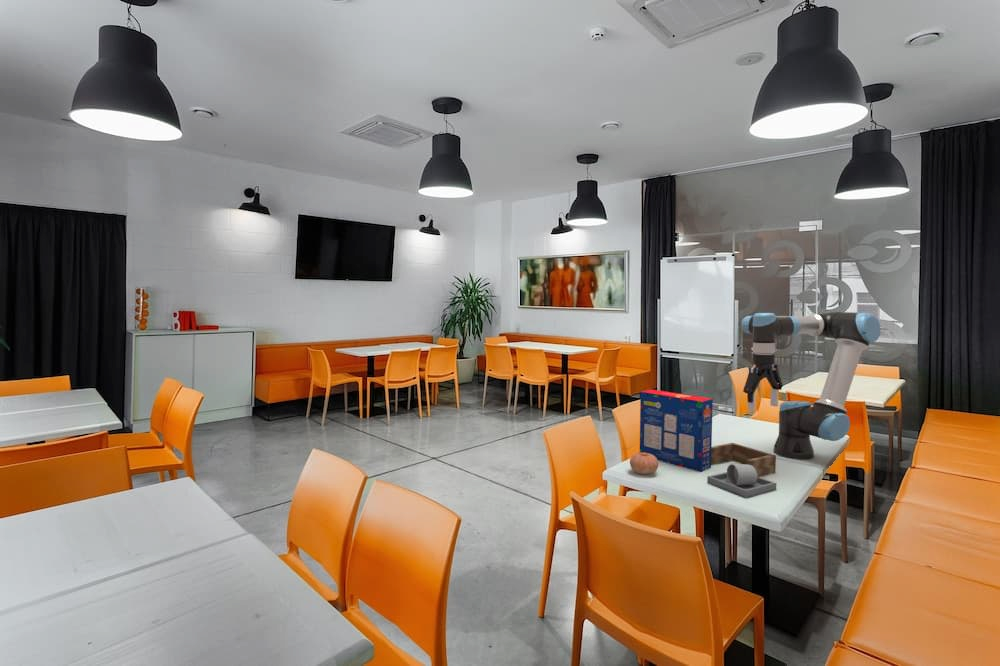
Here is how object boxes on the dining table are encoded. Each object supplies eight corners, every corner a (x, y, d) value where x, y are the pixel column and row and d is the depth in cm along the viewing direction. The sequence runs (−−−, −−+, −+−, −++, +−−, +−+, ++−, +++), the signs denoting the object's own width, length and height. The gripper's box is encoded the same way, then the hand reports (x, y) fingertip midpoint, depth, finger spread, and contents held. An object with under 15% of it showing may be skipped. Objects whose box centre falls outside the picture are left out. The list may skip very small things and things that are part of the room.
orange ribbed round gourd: (624, 470, 201) (624, 450, 200) (646, 467, 205) (647, 447, 204) (640, 479, 191) (641, 458, 190) (664, 475, 195) (664, 455, 194)
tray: (736, 475, 194) (737, 469, 194) (776, 490, 180) (776, 483, 180) (707, 483, 187) (707, 476, 187) (745, 498, 173) (746, 491, 172)
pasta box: (710, 467, 204) (712, 398, 202) (700, 472, 199) (702, 401, 197) (650, 451, 225) (651, 389, 223) (639, 455, 220) (640, 391, 218)
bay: (731, 459, 214) (732, 442, 214) (775, 473, 197) (776, 455, 196) (707, 464, 208) (707, 447, 207) (749, 479, 190) (750, 461, 190)
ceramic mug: (759, 487, 180) (759, 466, 180) (738, 489, 179) (738, 467, 179) (741, 477, 191) (741, 457, 190) (720, 479, 189) (721, 458, 189)
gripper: (774, 350, 203) (774, 402, 205) (733, 355, 191) (732, 410, 193) (793, 351, 196) (792, 405, 198) (751, 357, 185) (750, 414, 187)
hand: (763, 408), depth 196 cm, fingers open, 13 cm apart
